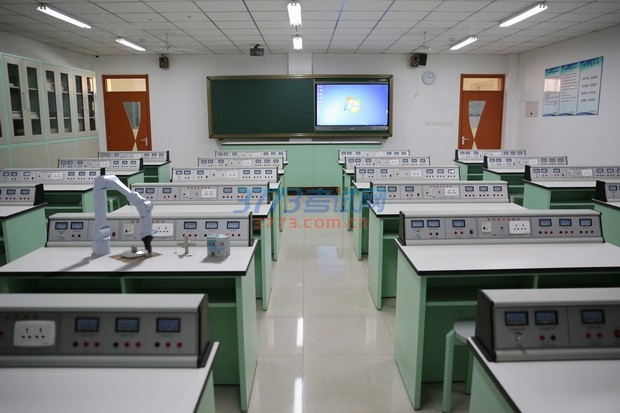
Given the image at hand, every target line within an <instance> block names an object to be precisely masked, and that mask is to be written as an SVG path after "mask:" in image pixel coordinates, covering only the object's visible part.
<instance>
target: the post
mask: <svg viewBox="0 0 620 413" xmlns="http://www.w3.org/2000/svg"><path fill="white" fill-rule="evenodd" d="M130 248H131V249H130V250H131V251H132V253H135V252H137V249H138V246H137V244H136V245H135V244H134V245H131V247H130Z"/></svg>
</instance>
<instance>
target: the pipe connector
mask: <svg viewBox="0 0 620 413" xmlns="http://www.w3.org/2000/svg"><path fill="white" fill-rule="evenodd" d="M183 238H184V241H183V242H182V241H181V242H179V241H178V242H176V245H177V246H179V247H181V248H182V249H184V253H185V254H189V252H190V251H189V247H196V245H197V243H196V242H192V240H189V239H188V238H189V236H188V234H184V237H183Z"/></svg>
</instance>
